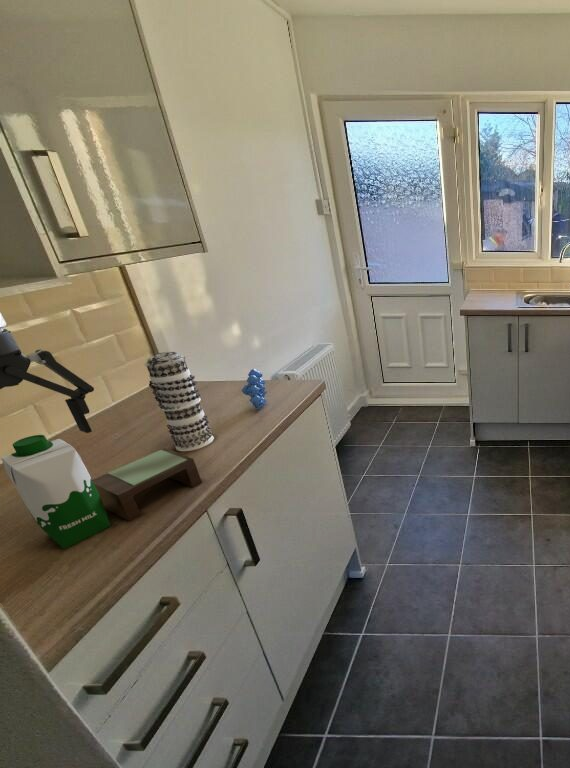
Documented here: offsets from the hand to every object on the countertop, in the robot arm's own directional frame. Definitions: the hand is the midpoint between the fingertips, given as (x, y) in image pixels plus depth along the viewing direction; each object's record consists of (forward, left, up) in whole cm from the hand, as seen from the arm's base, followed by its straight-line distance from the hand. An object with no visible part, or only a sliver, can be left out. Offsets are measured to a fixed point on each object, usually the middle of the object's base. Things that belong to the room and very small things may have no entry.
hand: (37, 448), depth 73 cm
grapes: (-20, +51, -19) cm, 58 cm away
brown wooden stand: (0, +12, -19) cm, 23 cm away
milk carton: (0, 0, -19) cm, 19 cm away
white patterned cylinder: (-15, +29, -19) cm, 38 cm away
